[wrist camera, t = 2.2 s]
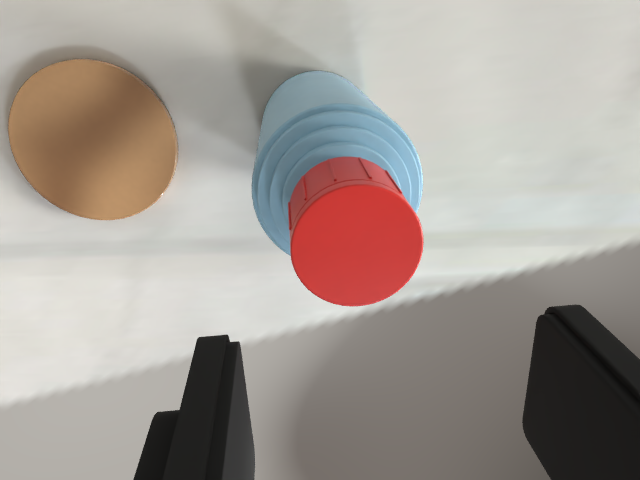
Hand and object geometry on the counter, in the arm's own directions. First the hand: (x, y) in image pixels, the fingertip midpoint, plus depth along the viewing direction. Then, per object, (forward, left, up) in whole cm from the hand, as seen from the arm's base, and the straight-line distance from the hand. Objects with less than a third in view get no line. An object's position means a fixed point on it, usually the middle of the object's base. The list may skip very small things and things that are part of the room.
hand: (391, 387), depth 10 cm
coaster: (+12, +7, -25) cm, 28 cm away
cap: (0, 0, -9) cm, 9 cm away
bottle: (0, 0, -25) cm, 25 cm away
